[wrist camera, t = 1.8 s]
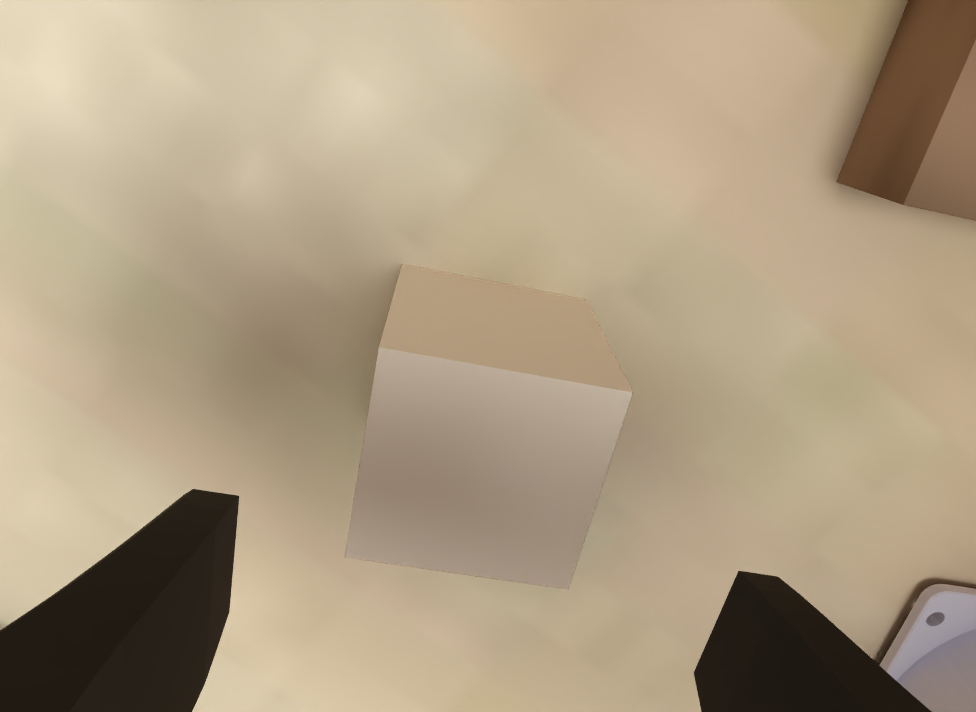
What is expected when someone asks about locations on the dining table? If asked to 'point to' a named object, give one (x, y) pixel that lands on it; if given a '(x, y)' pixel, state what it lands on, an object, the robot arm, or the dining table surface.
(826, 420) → the dining table surface
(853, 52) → the dining table surface
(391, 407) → the white block
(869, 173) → the walnut block
